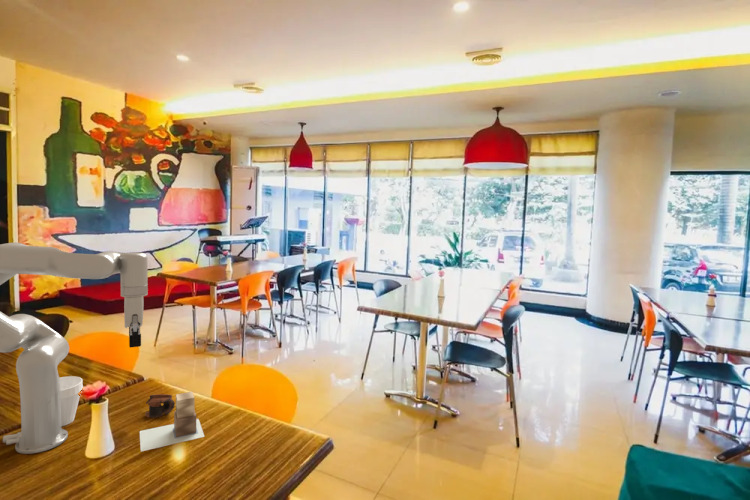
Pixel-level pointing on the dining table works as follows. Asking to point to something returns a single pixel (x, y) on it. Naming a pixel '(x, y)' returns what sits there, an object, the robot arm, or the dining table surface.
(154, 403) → the pottery mug
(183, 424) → the walnut cube
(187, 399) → the maple block
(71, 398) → the cup
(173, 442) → the white rectangular board
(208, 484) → the dining table surface
